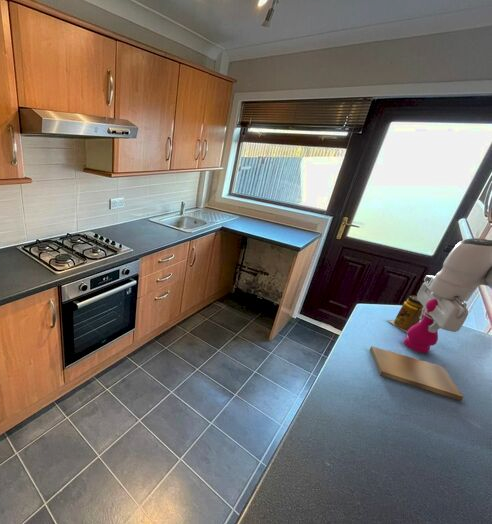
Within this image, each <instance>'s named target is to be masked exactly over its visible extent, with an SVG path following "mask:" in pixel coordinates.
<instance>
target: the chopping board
mask: <svg viewBox="0 0 492 524" xmlns="http://www.w3.org/2000/svg"><path fill="white" fill-rule="evenodd" d="M369 352H370V354H371V357H372V358H373V362H374V365H375V367H376V369H377V372H378V373H379V376H382V377H385V378H388V379H391V380H395V381H397V382H401V383H404V384H407V385H409V386H413V387H416V388H420V389H423V390H425V391H430V392H432V393H436V394H438V395H441V396H445V397H448V398H451V399H454V400H457V401H462V400H463V399H464V395H463V393H462V392H461V391H460V389H459V388H458V386H457V385H456V383H455V382H454V381H453V379H452V378H451V376H450V375H449V373H448V372H447V370H446V368H445V367H444V366H443V365H438V364H435V363H432V362H428V361H425V360H421V359H418V358H414V357H411V356H408V355H405V354H400V353H397V352H394V351H390V350H387V349H383V348H380V347H377V346H373V345H372V346H370V348H369Z"/></svg>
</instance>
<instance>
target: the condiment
mask: <svg viewBox="0 0 492 524" xmlns="http://www.w3.org/2000/svg"><path fill="white" fill-rule="evenodd" d="M422 308H423V305H422V304H421V303H420V302H419V301H418V299H417V295H409V296H408V297H407V298H406V301H404V302H403V303H402V305H401V308H400V309H399V311H398V312H397V314H396V316H395V318H394V319H391V320H390V319H389V320H388V319H387V321H388V323H391V324H392V325H393V326H395V327H397V328H398V329H400V330H401V331H403V332H404V333H406V334H407V331H408V330H409V328H411V327H412V326H414V325H415V324H417V323H419V322H420V321H421V320H420V319H419V317H420V316H421V313H422Z"/></svg>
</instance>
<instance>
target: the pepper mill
mask: <svg viewBox="0 0 492 524" xmlns="http://www.w3.org/2000/svg"><path fill="white" fill-rule="evenodd" d="M436 305H437V306H438V302H437V300H436V299H431V300H429V301H428V302H427V303H426V308H427V310H425V312H424V313H423V314H424V317H423V319H422V320H420V321H419V323H417V324H415V325H414V326H412V327H411V328H409V330H408V331H407V333H406V335H407V336H406V337H405V338H404V340H403V344H404V345H405V346H406V347H407V348H409V349H410V350H412V351H415V352H417V353H421V354H426V353H428V352H429V351H430V349H431V347H432V346H435V345H436V344H437V342H438V340H439V334H438V331H437V332H436V333H432V332H429V331H428V329H427V327H428V325H432V324H433V321H434V319H433V318H432V317H431V315H430V314H429V312H432V311H434V309H435V308H436Z"/></svg>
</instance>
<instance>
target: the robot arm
mask: <svg viewBox="0 0 492 524" xmlns="http://www.w3.org/2000/svg"><path fill="white" fill-rule="evenodd" d="M423 281H424V282H423V283H422V284H421V286H420V288H419V289H418V292H417V293H416V296H417V299H418V301H419V302H420V303H421V304H422V305H423V308H422V313H421V316H420V317H419V319H420V321H421V320H422V319H423V317H424V314H423V313H424V312H425V310H427V308H426V303H427V302H428V301H429V300H431V299H436V300H437V302H438V306H437V305H436V308H435V309H434V311H432V312H429V314H430V315H431V317H432V318H433V319H434V321H433V324H432V325H428V327H427V329H428V331H429V332H432V333H436V332H438V331H439V329H440V330H444V331H447V332H452V333H457V332H459V331H461V329H462V327H463V325H464V323H465V321H466V320H467V318H468V316H469V309H468V308H467V304H468V303H467V302H468V301H469V300H470V298H471V297H472V296H473V294H474V293H475V291H476V290H477V288H478V287H479V286H487V287H489V288H490V289H491V290H492V239H487V238H480V237H477V238H476V237H474V238H473V237H472V238H465V239H462V240H460V241H459V242H457V244H455V246H454V247H453V248H452V249H451V251H450V252H449V253H448V255H447V256H446V258H445V259H444V261H443V264H442V268H441V269H440V270H439V271H437V273H436V274H435V275H429V274H427V275H425V277H424V278H423Z"/></svg>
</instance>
